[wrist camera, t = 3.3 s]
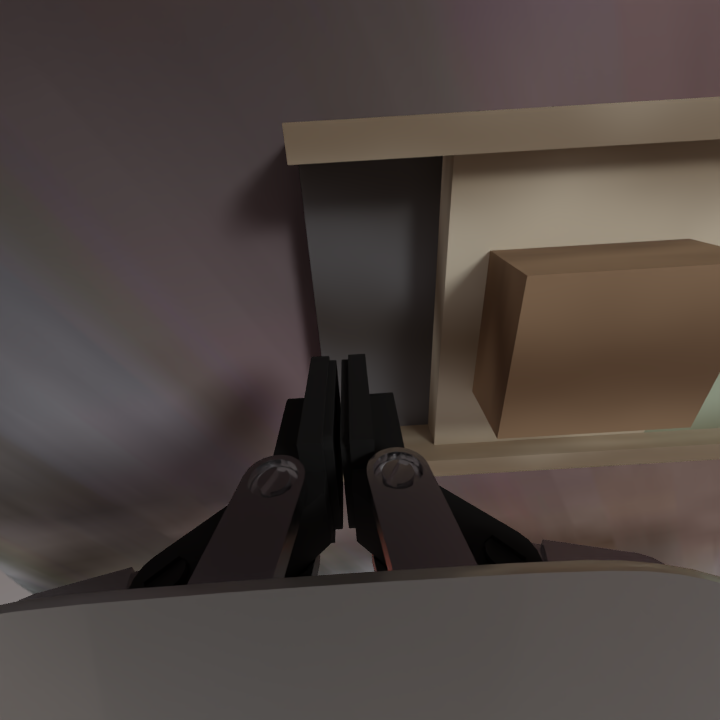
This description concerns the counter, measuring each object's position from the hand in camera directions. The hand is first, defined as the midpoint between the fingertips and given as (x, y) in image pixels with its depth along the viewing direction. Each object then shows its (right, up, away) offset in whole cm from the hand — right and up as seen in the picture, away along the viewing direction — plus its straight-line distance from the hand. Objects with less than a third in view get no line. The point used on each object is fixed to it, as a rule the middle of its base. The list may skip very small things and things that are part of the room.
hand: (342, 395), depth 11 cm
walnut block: (+9, +3, +3) cm, 9 cm away
